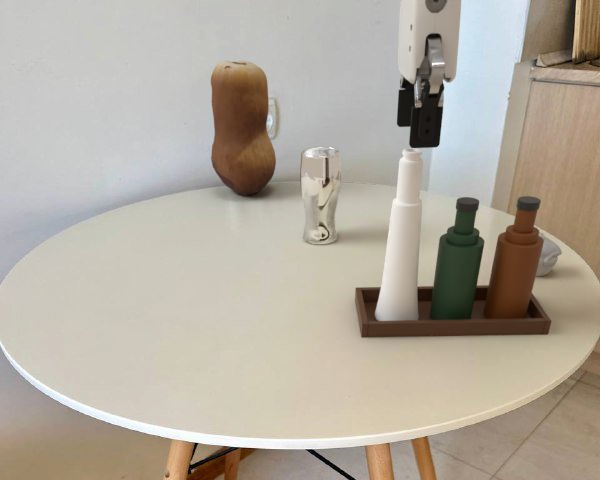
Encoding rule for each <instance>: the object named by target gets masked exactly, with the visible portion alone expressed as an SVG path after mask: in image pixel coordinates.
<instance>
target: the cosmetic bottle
mask: <svg viewBox="0 0 600 480" xmlns="http://www.w3.org/2000/svg"><path fill="white" fill-rule="evenodd" d="M401 153H402V157H400V158H399V160H398V161H399V162H398V172H397V182H396V183H397V185H396V197H394V198H393V199H392V203H391V210H390V215H389V216H390V218H389V224H388V233H387V240H386V249H385V257H384V265H383V271H382V278H381V284H380V287H381V289H380V294H379V299H378V303H377V307H376V310H375V318H376V319H377V321H403V320H418V318H419V315H418V297H417V286H419V285H418V283H419V263H420V262H419V261H420V249H421V247H420V246H421V233H422V215H423V214H422V213H423V201H422V200H421V198H420V194H421V186H422V185H421V184H422V177H423V167H424V160H423V158H422V157H421V156H422V153H423V150H422V149H421V148H411V147H407V148H403V149H402V152H401Z"/></svg>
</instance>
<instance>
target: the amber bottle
mask: <svg viewBox="0 0 600 480" xmlns="http://www.w3.org/2000/svg"><path fill="white" fill-rule="evenodd" d="M541 202H542V200H541V199H540V198H538V197H536V196H529V195H523V196H519V197H518V198H517V201H516V212H515V215H514V216H515V217H514V222H513V224H510V225H508V226H507V227H506V228H505V231H504V232H501V233H499V235H498V236H497V241H496V244H495V245H496V246H495V251H494V256H493V261H492V267H491V271H490V277H489V282H488V285H489V286H488V292H487V297H486V302H485V307H484V312H483V313H484V316H485V317H486V318H487V319H524V318H526V314H527V309H528V305H529V301H530V297H531V293H532V294H533V288H534V284H535V281H536V277H537V276H536V272H537V268H538V264H539V260H540V256H541V252H542V248H543V244H544V240H543V238H541V237H540V236H539V232H540V230H539V229H538V228H537V227H536V226H535V223H536V219H537V214H538V210H540V207H541Z"/></svg>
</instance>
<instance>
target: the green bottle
mask: <svg viewBox="0 0 600 480" xmlns="http://www.w3.org/2000/svg"><path fill="white" fill-rule="evenodd" d="M479 206H480V200H479V199H478V198H475V197H469V196H462V197H458V198H457V199H456V201H455V211H456V212H455V217H454V225H451V226H449V227H448V228H447V230H446V233H443V234H442V235H440V237H439V240H438V248H437V255H436V261H435V262H436V263H435V269H434V270H435V271H434V278H433V285H432V286H433V293H432V300H431V308H430V317H431V318H432V319H433V320H464V319H471V315H472V309H473V304H474V298H475V293H476V287H477V285H478V282H479V281H478V280H479V275H480V271H481V263H482V258H483V253H484V249H485V248H484V247H485V243H486V241H485V240H484V238H483V237H482V236H480V230H479V229H478V228H477V227H475V223H476V217H477V211H479V208H480V207H479Z"/></svg>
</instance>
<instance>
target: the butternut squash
mask: <svg viewBox="0 0 600 480" xmlns="http://www.w3.org/2000/svg"><path fill="white" fill-rule="evenodd" d="M210 87H211V109H212V116H213V128H214V136H213V143H212V145H211V146H212V147H211V156H210V160H211V165H212V168H213V170H214V172H215V173H216V175H217V176H218V177H219V179H220V180H221V182H222V183H223V184H224V185H225V186H226V187H227V188H229V189H230V190H232V191H233V192H234V193H235V194H237V195H240V196H244V197H247V196H250V195H252V194H254V193H258V192H260V191H261V190H263V189H264V188H265V187H266V186H267V185H268V183H270V181H271V180H272V178H273V176H274V174H275V171H276V163H277V161H276V160H277V159H276V152H275V148H274V145H273V143H272V140H271V139H270V136H269V133H268V129H267V123H268V118H269V117H268V116H269V109H270V108H269V102H270V101H269V88H268V77H267V75H266V73H265V71H264V70H263V69H262V68H261V67H260V66H259V65H257V64H256V63H253V62H251V61H247V60H238V61H237V60H236V61H230V60H222V61H220V62H218V63H217V64H216V65H215V66H214V68H213V71H212V73H211V76H210Z"/></svg>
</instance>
